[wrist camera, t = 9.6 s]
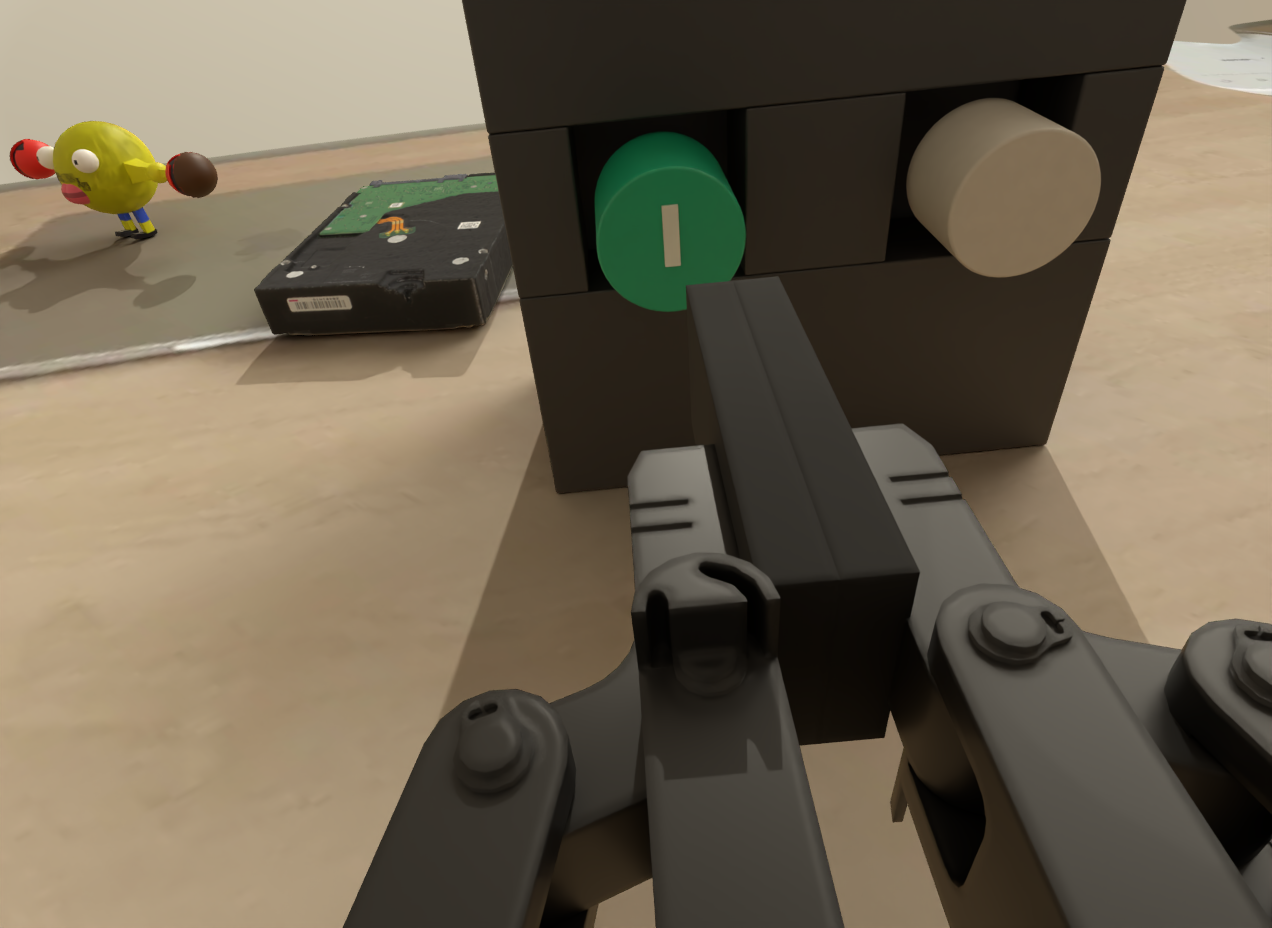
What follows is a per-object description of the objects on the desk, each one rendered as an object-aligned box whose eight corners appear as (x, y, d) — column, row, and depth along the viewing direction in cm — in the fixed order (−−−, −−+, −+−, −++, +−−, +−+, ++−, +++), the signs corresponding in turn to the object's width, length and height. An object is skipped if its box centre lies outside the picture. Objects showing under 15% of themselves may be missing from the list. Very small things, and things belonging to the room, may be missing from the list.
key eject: (1078, 271, 18) (1123, 120, 16) (936, 286, 18) (963, 136, 16) (1022, 227, 20) (1055, 90, 18) (896, 239, 20) (915, 104, 18)
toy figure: (15, 238, 50) (-51, 130, 46) (93, 208, 54) (39, 106, 50) (194, 269, 43) (136, 144, 39) (270, 232, 47) (224, 115, 42)
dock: (1047, 444, 24) (1215, -88, 16) (556, 494, 25) (459, -10, 16) (951, 328, 31) (1034, -98, 22) (561, 368, 31) (493, -42, 22)
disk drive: (492, 335, 34) (540, 212, 45) (479, 277, 32) (532, 164, 44) (272, 346, 35) (373, 223, 46) (248, 290, 33) (359, 176, 45)
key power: (746, 306, 18) (748, 159, 16) (605, 320, 18) (587, 176, 16) (727, 257, 20) (726, 124, 18) (601, 270, 20) (586, 138, 18)
